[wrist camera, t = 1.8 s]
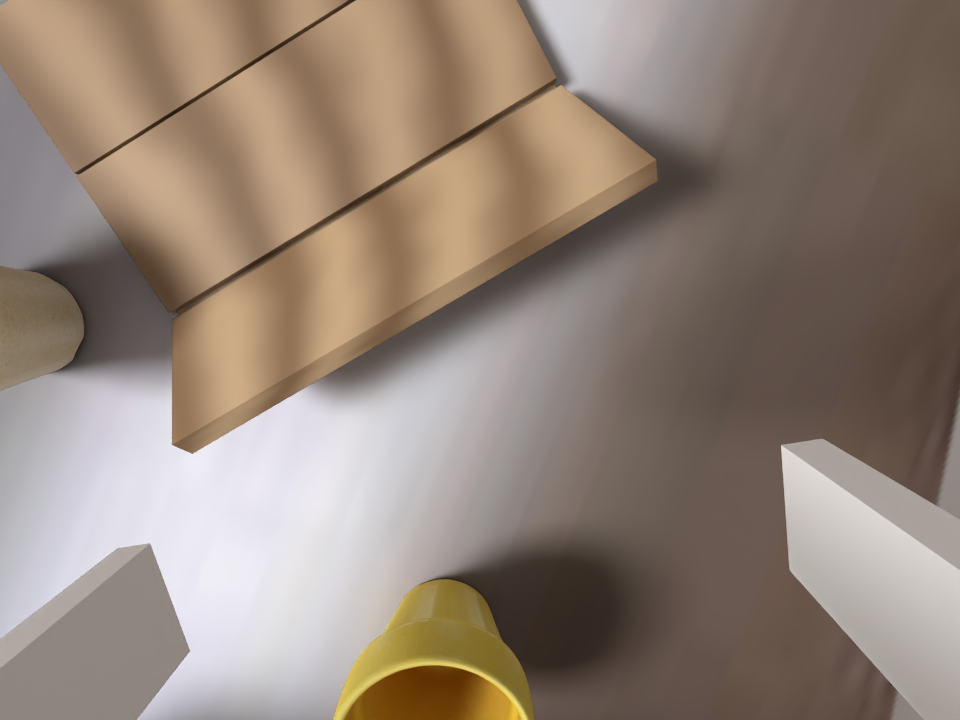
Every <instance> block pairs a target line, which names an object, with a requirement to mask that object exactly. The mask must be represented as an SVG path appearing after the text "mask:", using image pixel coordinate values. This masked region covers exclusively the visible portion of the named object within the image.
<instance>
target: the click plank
mask: <svg viewBox="0 0 960 720" xmlns="http://www.w3.org/2000/svg"><path fill="white" fill-rule="evenodd" d="M657 181H658V179H657V163H656V159H655V158H653V157H652V156H651V155H650V154H648V153H647V152H646V151H645V150H643V149H642V148H641V147H639V146H638V145H637V144H636V143H634V142H633V141H632V140H631V139H629V138H628V137H627V136H626V135H624V134H623V133H622V132H620V131H619V130H618V129H617V128H615V127H614V126H613V125H612V124H610V123H609V122H608V121H607V120H605V119H604V118H603V117H601V116H600V115H599V114H598V113H596V112H595V111H594V110H593V109H591V108H590V107H589V106H587V105H586V104H585V103H584V102H582V101H581V100H580V99H579V98H577V97H576V96H575V95H574V94H572V93H571V92H570V91H568V90H567V89H566V88H565V87H563V86H562V85H560V86H559V87H557V88H555V89H554V90H552V91H550V92H549V93H547V94H545V95H544V96H542V97H541V98H539V99H537V100H536V101H534V102H532V103H531V104H529V105H527V106H526V107H524V108H522V109H521V110H519V111H517V112H516V113H514V114H512V115H511V116H509V117H507V118H506V119H504V120H502V121H501V122H499V123H497V124H496V125H494V126H493V127H491V128H489V129H488V130H486V131H484V132H483V133H481V134H479V135H478V136H476V137H474V138H473V139H471V140H469V141H468V142H466V143H464V144H463V145H461V146H459V147H458V148H456V149H454V150H453V151H451V152H450V153H448V154H446V155H445V156H443V157H441V158H440V159H438V160H436V161H435V162H433V163H431V164H430V165H428V166H426V167H425V168H423V169H421V170H420V171H418V172H416V173H415V174H413V175H411V176H410V177H408V178H406V179H405V180H403V181H402V182H400V183H398V184H397V185H395V186H393V187H392V188H390V189H388V190H387V191H385V192H383V193H382V194H380V195H378V196H377V197H375V198H373V199H372V200H370V201H368V202H367V203H365V204H363V205H362V206H360V207H359V208H357V209H355V210H354V211H352V212H350V213H349V214H347V215H345V216H344V217H342V218H340V219H339V220H337V221H335V222H334V223H332V224H330V225H329V226H327V227H325V228H324V229H322V230H320V231H319V232H317V233H316V234H314V235H312V236H311V237H309V238H307V239H306V240H304V241H302V242H301V243H299V244H297V245H296V246H294V247H292V248H291V249H289V250H287V251H286V252H284V253H282V254H281V255H279V256H277V257H276V258H274V259H272V260H271V261H269V262H268V263H266V264H264V265H263V266H261V267H259V268H258V269H256V270H254V271H253V272H251V273H249V274H248V275H246V276H244V277H243V278H241V279H239V280H238V281H236V282H234V283H233V284H231V285H229V286H228V287H226V288H225V289H223V290H221V291H220V292H218V293H216V294H215V295H213V296H211V297H210V298H208V299H206V300H205V301H203V302H201V303H200V304H198V305H196V306H195V307H193V308H191V309H190V310H188V311H186V312H185V313H183V314H182V315H180V316H178V317H177V318H175V319H173V337H172V445H174V446H176V447H178V448H180V449H183V450H185V451H187V452H190V453H192V454H193V453H194V452H196V451H198V450H200V449H201V448H203V447H205V446H206V445H208V444H210V443H211V442H213V441H215V440H217V439H218V438H220V437H222V436H223V435H225V434H227V433H229V432H230V431H232V430H234V429H235V428H237V427H239V426H240V425H242V424H244V423H246V422H247V421H249V420H251V419H252V418H254V417H256V416H258V415H259V414H261V413H263V412H264V411H266V410H268V409H269V408H271V407H273V406H275V405H276V404H278V403H280V402H281V401H283V400H285V399H287V398H288V397H290V396H292V395H293V394H295V393H297V392H298V391H300V390H302V389H304V388H305V387H307V386H309V385H310V384H312V383H314V382H316V381H317V380H319V379H321V378H322V377H324V376H326V375H327V374H329V373H331V372H333V371H334V370H336V369H338V368H339V367H341V366H343V365H345V364H346V363H348V362H350V361H351V360H353V359H355V358H356V357H358V356H360V355H362V354H363V353H365V352H367V351H368V350H370V349H372V348H374V347H375V346H377V345H379V344H380V343H382V342H384V341H385V340H387V339H389V338H391V337H392V336H394V335H396V334H397V333H399V332H401V331H403V330H404V329H406V328H408V327H409V326H411V325H413V324H414V323H416V322H418V321H420V320H421V319H423V318H425V317H426V316H428V315H430V314H432V313H433V312H435V311H437V310H438V309H440V308H442V307H443V306H445V305H447V304H449V303H450V302H452V301H454V300H455V299H457V298H459V297H461V296H462V295H464V294H466V293H467V292H469V291H471V290H472V289H474V288H476V287H478V286H479V285H481V284H483V283H484V282H486V281H488V280H490V279H491V278H493V277H495V276H496V275H498V274H500V273H501V272H503V271H505V270H507V269H508V268H510V267H512V266H513V265H515V264H517V263H519V262H520V261H522V260H524V259H525V258H527V257H529V256H530V255H532V254H534V253H536V252H537V251H539V250H541V249H542V248H544V247H546V246H548V245H549V244H551V243H553V242H554V241H556V240H558V239H559V238H561V237H563V236H565V235H566V234H568V233H570V232H571V231H573V230H575V229H577V228H578V227H580V226H582V225H583V224H585V223H587V222H588V221H590V220H592V219H594V218H595V217H597V216H599V215H600V214H602V213H604V212H606V211H607V210H609V209H611V208H612V207H614V206H616V205H617V204H619V203H621V202H623V201H624V200H626V199H628V198H629V197H631V196H633V195H635V194H636V193H638V192H640V191H641V190H643V189H645V188H646V187H648V186H650V185H652V184H653V183H655V182H657Z"/></svg>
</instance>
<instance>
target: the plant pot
mask: <svg viewBox="0 0 960 720" xmlns="http://www.w3.org/2000/svg"><path fill="white" fill-rule="evenodd" d="M333 720H535V719H534V713H533V707H532V701H531V696H530V691H529V687H528V683H527V679H526V676H525V673H524V671H523V669H522V666H521V664H520V662H519V661H518V659H517V658H516V656H515V655H514V653H513V652H512V651H511V649H510V648H509V647H508V646H507V645H506V644H505V643H504V642H503V641H502V639H501V637H500V634H499V632H498V629H497V627H496V624H495V621H494V619H493V616H492V613H491V611H490V608H489V606H488V604H487V602H486V601H485V599H484V598H483V597H482V596H481V594H480V593H479V592H477V591H476V590H475V589H473V588H472V587H470V586H469V585H467V584H464V583H462V582H459V581H455V580H450V579H439V580H432V581H429V582H425V583H423V584H421V585H419V586H417V587H416V588H414V589H413V590H411V591H410V592H409V593H408V594H407V595H406V596H405V597H404V599H403V600H402V602H401V603H400V605H399V607H398V608H397V610H396V612H395V614H394V615H393V617H392V619H391V620H390V622H389V624H388V625H387V627H386V629H385V630H384V632H383V634H382V635H380V636H379V637H378V638H376V639H375V640H374V641H373V642H371V643H370V644H369V646H368V647H367V648H366V649H365V650H364V651H363V652H362V653H361V655H360V656H359V657H358V659H357V660H356V662H355V663H354V665H353V667H352V669H351V671H350V673H349V676H348V678H347V680H346V683H345V685H344V688H343V691H342V694H341V696H340V699H339V702H338V705H337V708H336V711H335V714H334V718H333Z"/></svg>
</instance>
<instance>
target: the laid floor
mask: <svg viewBox="0 0 960 720" xmlns="http://www.w3.org/2000/svg"><path fill="white" fill-rule="evenodd" d="M0 65H1V66H2V67H3V69H4V70H5V72H6V73H7V75H8V76H9V78H10V79H11V81H12V82H13V84H14V85H15V87H16V88H17V90H18V91H19V92H20V94H21V95H22V97H23V98H24V100H25V101H26V103H27V104H28V106H29V107H30V109H31V110H32V112H33V113H34V115H35V116H36V117H37V119H38V120H39V122H40V123H41V125H42V126H43V128H44V129H45V131H46V132H47V134H48V135H49V137H50V138H51V140H52V141H53V143H54V144H55V145H56V147H57V148H58V150H59V151H60V153H61V154H62V156H63V157H64V159H65V160H66V162H67V163H68V165H69V166H70V168H71V169H72V170H73V172H74V173H76V174H79V175H78V176H77V178H78V179H79V181H80V182H81V184H82V185H83V187H84V188H85V190H86V191H87V193H88V194H89V195H90V197H91V198H92V200H93V201H94V203H95V204H96V206H97V207H98V209H99V210H100V212H101V213H102V215H103V216H104V218H105V219H106V221H107V222H108V223H109V225H110V226H111V228H112V229H113V231H114V232H115V234H116V235H117V237H118V238H119V240H120V241H121V243H122V244H123V246H124V247H125V248H126V250H127V251H128V253H129V254H130V256H131V257H132V259H133V260H134V262H135V263H136V265H137V266H138V268H139V269H140V271H141V272H142V273H143V275H144V276H145V278H146V279H147V281H148V282H149V284H150V285H151V287H152V288H153V290H154V291H155V293H156V294H157V296H158V297H159V299H160V300H161V301H162V303H163V304H164V306H165V307H166V309H167V310H168V312H169V313H170V312H177V313H178V314H179V316H180V315H182V314H183V313H185V312H186V311H188V310H190V309H191V308H193V307H195V306H196V305H198V304H200V303H201V302H203V301H205V300H206V299H208V298H210V297H211V296H213V295H215V294H216V293H218V292H220V291H221V290H223V289H225V288H226V287H228V286H229V285H231V284H233V283H234V282H236V281H238V280H239V279H241V278H243V277H244V276H246V275H248V274H249V273H251V272H253V271H254V270H256V269H258V268H259V267H261V266H263V265H264V264H266V263H268V262H269V261H271V260H272V259H274V258H276V257H277V256H279V255H281V254H282V253H284V252H286V251H287V250H289V249H291V248H292V247H294V246H296V245H297V244H299V243H301V242H302V241H304V240H306V239H307V238H309V237H311V236H312V235H314V234H316V233H317V232H319V231H320V230H322V229H324V228H325V227H327V226H329V225H330V224H332V223H334V222H335V221H337V220H339V219H340V218H342V217H344V216H345V215H347V214H349V213H350V212H352V211H354V210H355V209H357V208H359V207H360V206H362V205H363V204H365V203H367V202H368V201H370V200H372V199H373V198H375V197H377V196H378V195H380V194H382V193H383V192H385V191H387V190H388V189H390V188H392V187H393V186H395V185H397V184H398V183H400V182H402V181H403V180H405V179H406V178H408V177H410V176H411V175H413V174H415V173H416V172H418V171H420V170H421V169H423V168H425V167H426V166H428V165H430V164H431V163H433V162H435V161H436V160H438V159H440V158H441V157H443V156H445V155H446V154H448V153H450V152H451V151H453V150H454V149H456V148H458V147H459V146H461V145H463V144H464V143H466V142H468V141H469V140H471V139H473V138H474V137H476V136H478V135H479V134H481V133H483V132H484V131H486V130H488V129H489V128H491V127H493V126H494V125H496V124H497V123H499V122H501V121H502V120H504V119H506V118H507V117H509V116H511V115H512V114H514V113H516V112H517V111H519V110H521V109H522V108H524V107H526V106H527V105H529V104H531V103H532V102H534V101H536V100H537V99H539V98H541V97H542V96H544V95H545V94H547V93H549V92H550V91H552V90H554V89H555V88H556V86H555V84H554V83H555V81H556V78H557V77H556V75H555V73H554V72H553V70H552V68H551V66H550V64H549V62H548V60H547V58H546V56H545V54H544V52H543V50H542V48H541V46H540V44H539V42H538V40H537V38H536V36H535V34H534V33H533V31H532V29H531V27H530V25H529V23H528V21H527V19H526V17H525V15H524V13H523V11H522V9H521V7H520V5H519V3H518V1H517V0H8V1H7V2H5V3H4V4H2V5H1V6H0Z"/></svg>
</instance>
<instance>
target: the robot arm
mask: <svg viewBox="0 0 960 720" xmlns="http://www.w3.org/2000/svg"><path fill="white" fill-rule="evenodd" d="M781 450H782V465H783V480H784V495H785V509H786V524H787V539H788V554H789V568H790V571H791V572H792V573H793V574H794V576H795V577H796V578H797V579H798V580H799V581H800V582H801V583H802V584H803V586H804V587H805V588H806V589H807V590H808V591H809V592H810V593H811V594H812V596H813V597H814V598H815V599H816V600H817V601H818V602H819V603H820V605H821V606H822V607H823V608H824V609H825V610H826V611H827V612H828V613H829V615H830V616H831V617H832V618H833V619H834V620H835V621H836V622H837V624H838V625H839V626H840V627H841V628H842V629H843V630H844V631H845V632H846V634H847V635H848V636H849V637H850V638H851V639H852V640H853V641H854V642H855V644H856V645H857V646H858V647H859V648H860V649H861V650H862V651H863V653H864V654H865V655H866V656H867V657H868V658H869V659H870V660H871V661H872V663H873V664H874V665H875V666H876V667H877V668H878V669H879V670H880V671H881V673H882V674H883V675H884V676H885V677H886V678H887V679H888V680H889V682H890V683H891V684H892V685H893V686H894V687H895V688H896V689H897V690H898V692H899V693H900V694H901V695H902V696H903V697H904V698H905V699H906V700H907V702H908V703H909V704H910V705H911V706H912V707H913V708H914V709H915V711H917V713H918V714H919V715H920V716H921V717H922V718H923V719H924V720H960V520H959V519H957V518H956V517H954V516H952V515H951V514H949V513H947V512H946V511H944V510H942V509H941V508H939V507H937V506H936V505H934V504H932V503H931V502H929V501H927V500H925V499H924V498H922V497H920V496H919V495H917V494H915V493H914V492H912V491H910V490H909V489H907V488H905V487H903V486H902V485H900V484H898V483H897V482H895V481H893V480H892V479H890V478H888V477H887V476H885V475H883V474H881V473H880V472H878V471H876V470H875V469H873V468H871V467H870V466H868V465H866V464H865V463H863V462H861V461H859V460H858V459H856V458H854V457H853V456H851V455H849V454H848V453H846V452H844V451H843V450H841V449H839V448H837V447H836V446H834V445H832V444H831V443H829V442H827V441H826V440H824V439H817V440H811V441H805V442H798V443H792V444H785V445H781ZM189 652H190V650H189V647H188V644H187V642H186V639H185V636H184V634H183V631H182V628H181V626H180V623H179V620H178V617H177V615H176V612H175V609H174V607H173V604H172V601H171V599H170V596H169V593H168V591H167V588H166V585H165V582H164V580H163V577H162V574H161V572H160V569H159V566H158V564H157V561H156V558H155V556H154V553H153V550H152V547H151V545H150V544H143V545H137V546H131V547H124V548H118V549H116V550H115V551H113V552H112V553H111V554H110V555H108V556H107V557H106V558H104V559H103V560H102V561H101V562H99V563H98V564H97V565H95V566H94V567H93V568H92V569H90V570H89V571H88V572H86V573H85V574H84V575H83V576H81V577H80V578H79V579H77V580H76V581H75V582H74V583H72V584H71V585H70V586H68V587H67V588H66V589H65V590H63V591H62V592H61V593H59V594H58V595H57V596H56V597H54V598H53V599H52V600H50V601H49V602H48V603H47V604H45V605H44V606H43V607H41V608H40V609H39V610H37V611H36V612H35V613H34V614H32V615H31V616H30V617H28V618H27V619H26V620H25V621H23V622H22V623H21V624H19V625H18V626H17V627H16V628H14V629H13V630H12V631H10V632H9V633H8V634H7V635H5V636H4V637H3V638H1V639H0V720H137V719H138V717H139V716H140V715H141V713H142V712H143V711H144V710H145V708H146V707H147V706H148V704H149V703H150V702H151V701H152V699H153V698H154V697H155V695H156V694H157V693H158V692H159V690H160V689H161V688H162V686H163V685H164V684H165V683H166V681H167V680H168V679H169V677H170V676H171V675H172V674H173V672H174V671H175V670H176V668H177V667H178V666H179V665H180V663H181V662H182V661H183V659H184V658H185V657H186V656H187V654H188V653H189Z"/></svg>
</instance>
